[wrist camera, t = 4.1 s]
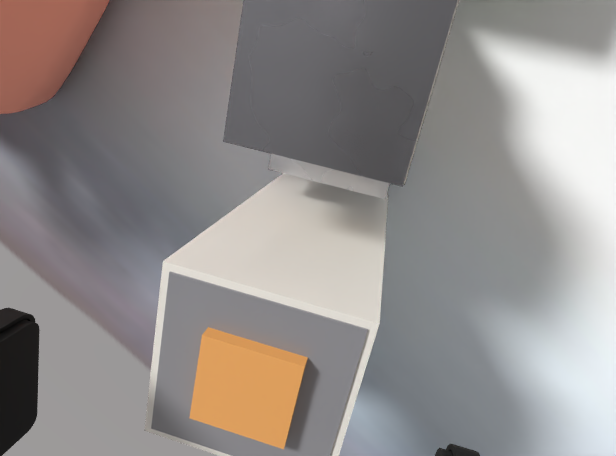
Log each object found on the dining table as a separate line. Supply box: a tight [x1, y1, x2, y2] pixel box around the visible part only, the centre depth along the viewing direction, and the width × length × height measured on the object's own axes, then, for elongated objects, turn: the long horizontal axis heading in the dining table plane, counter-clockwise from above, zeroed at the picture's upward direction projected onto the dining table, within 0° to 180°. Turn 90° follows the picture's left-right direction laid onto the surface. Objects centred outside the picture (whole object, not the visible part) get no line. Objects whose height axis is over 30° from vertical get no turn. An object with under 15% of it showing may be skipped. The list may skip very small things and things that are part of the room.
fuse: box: [145, 173, 388, 456], centre depth 16 cm, size 5×5×12 cm
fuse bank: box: [223, 0, 459, 199], centre depth 16 cm, size 5×16×10 cm, turn 168°
